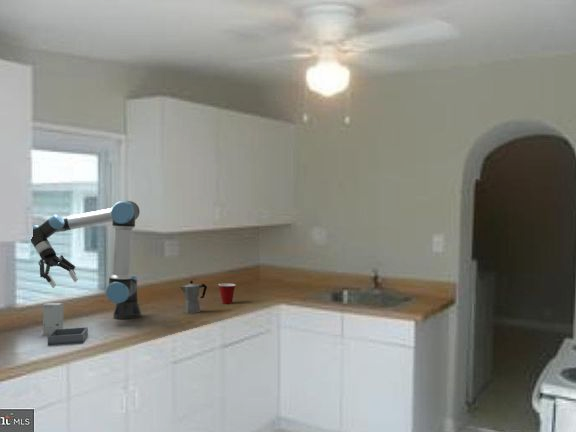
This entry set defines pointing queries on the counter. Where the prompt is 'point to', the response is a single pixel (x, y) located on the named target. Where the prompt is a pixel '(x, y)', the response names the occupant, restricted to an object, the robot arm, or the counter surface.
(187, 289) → the coffeepot
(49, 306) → the skincare box
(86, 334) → the bin
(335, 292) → the counter surface
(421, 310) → the counter surface
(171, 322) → the counter surface
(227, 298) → the plastic cup
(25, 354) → the counter surface
